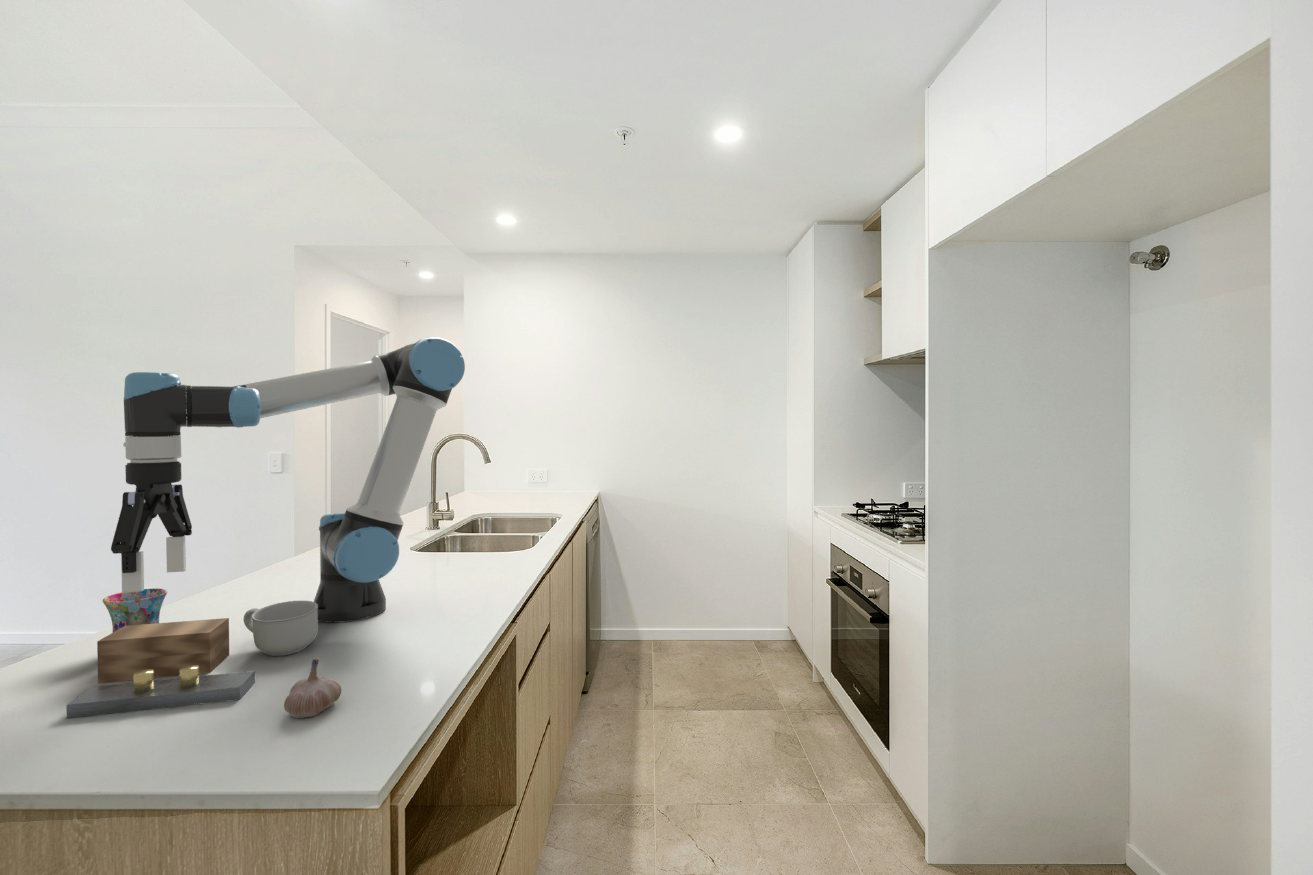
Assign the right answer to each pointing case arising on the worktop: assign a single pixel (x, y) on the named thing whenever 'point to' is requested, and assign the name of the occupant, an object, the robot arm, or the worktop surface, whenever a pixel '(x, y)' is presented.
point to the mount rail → (161, 692)
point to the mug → (135, 607)
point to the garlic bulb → (312, 694)
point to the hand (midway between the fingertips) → (156, 581)
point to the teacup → (283, 626)
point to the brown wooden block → (162, 648)
